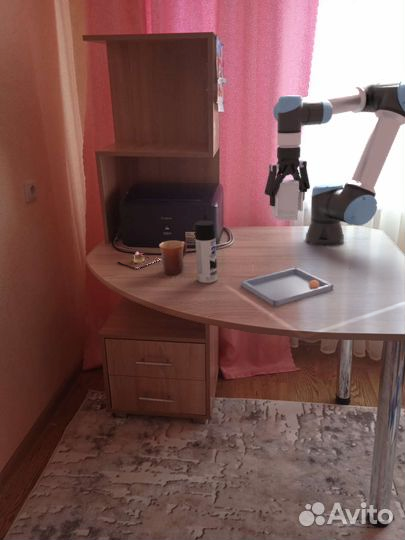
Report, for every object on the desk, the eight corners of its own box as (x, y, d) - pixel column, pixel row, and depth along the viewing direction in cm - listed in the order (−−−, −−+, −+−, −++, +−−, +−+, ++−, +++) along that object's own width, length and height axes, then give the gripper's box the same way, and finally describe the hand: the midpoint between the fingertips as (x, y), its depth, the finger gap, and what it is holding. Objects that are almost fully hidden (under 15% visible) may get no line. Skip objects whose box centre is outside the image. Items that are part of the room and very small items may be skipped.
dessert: (161, 262, 178) (160, 250, 177) (137, 271, 170) (136, 259, 168) (140, 255, 186) (139, 244, 184) (116, 264, 178) (115, 252, 176)
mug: (175, 278, 161) (173, 250, 157) (156, 273, 166) (153, 246, 162) (196, 267, 170) (194, 240, 166) (177, 263, 175) (175, 236, 171)
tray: (296, 273, 160) (296, 267, 160) (332, 291, 146) (333, 284, 145) (241, 288, 151) (241, 281, 150) (274, 308, 136) (274, 301, 135)
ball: (314, 287, 148) (314, 277, 146) (321, 290, 145) (321, 280, 144) (306, 289, 146) (306, 279, 145) (313, 292, 144) (313, 283, 142)
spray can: (213, 284, 155) (211, 226, 147) (194, 282, 157) (191, 224, 150) (219, 277, 160) (218, 220, 153) (201, 275, 163) (198, 219, 155)
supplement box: (297, 220, 158) (299, 183, 153) (275, 220, 159) (276, 183, 155) (298, 214, 164) (299, 178, 160) (276, 214, 166) (277, 178, 161)
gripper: (308, 142, 161) (305, 205, 169) (253, 148, 151) (253, 215, 159) (323, 143, 155) (319, 209, 163) (267, 150, 145) (266, 220, 153)
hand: (287, 212), depth 161 cm, fingers closed on supplement box, 10 cm apart
